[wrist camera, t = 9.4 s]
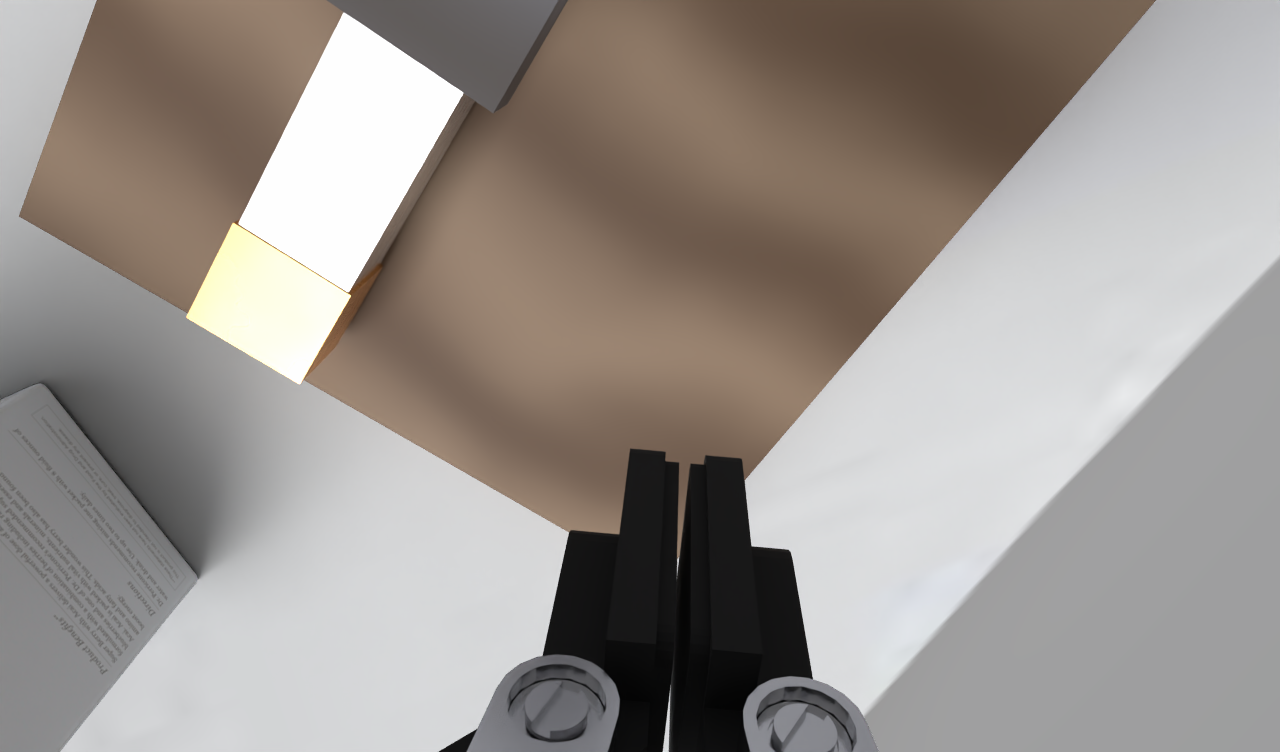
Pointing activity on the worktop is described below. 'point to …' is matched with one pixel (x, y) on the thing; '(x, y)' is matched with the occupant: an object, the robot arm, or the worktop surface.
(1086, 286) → the worktop surface
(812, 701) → the robot arm
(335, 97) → the link
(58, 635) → the supplement box
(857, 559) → the worktop surface
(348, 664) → the worktop surface
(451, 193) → the board
